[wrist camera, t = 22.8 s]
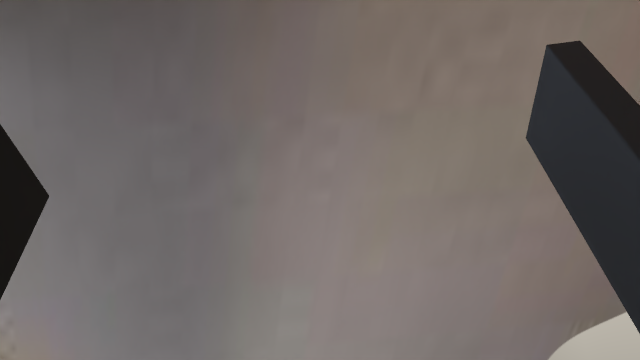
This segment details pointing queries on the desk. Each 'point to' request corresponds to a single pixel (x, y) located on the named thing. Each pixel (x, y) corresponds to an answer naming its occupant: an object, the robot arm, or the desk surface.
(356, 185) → the desk surface
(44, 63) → the desk surface
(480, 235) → the desk surface
